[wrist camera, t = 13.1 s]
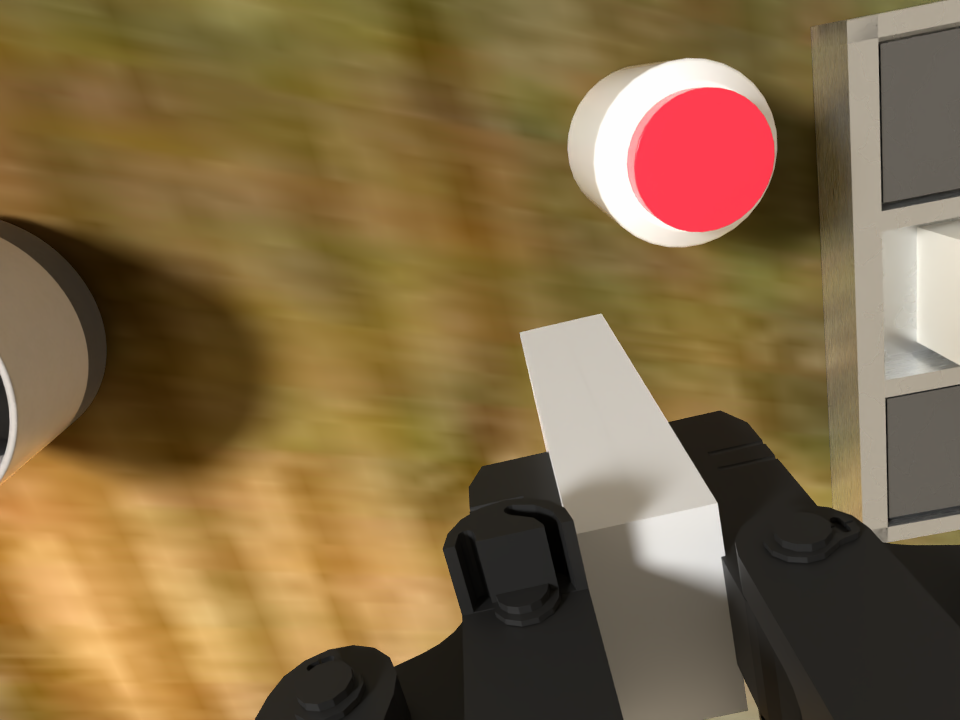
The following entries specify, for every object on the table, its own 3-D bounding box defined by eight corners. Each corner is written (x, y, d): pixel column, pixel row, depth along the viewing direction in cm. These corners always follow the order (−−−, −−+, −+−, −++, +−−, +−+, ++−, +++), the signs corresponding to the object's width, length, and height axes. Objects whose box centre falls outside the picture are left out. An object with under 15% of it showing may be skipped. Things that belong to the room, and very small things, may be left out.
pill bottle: (739, 93, 40) (839, 94, 30) (680, 237, 42) (753, 285, 32) (599, 42, 39) (650, 24, 29) (546, 191, 41) (576, 226, 31)
